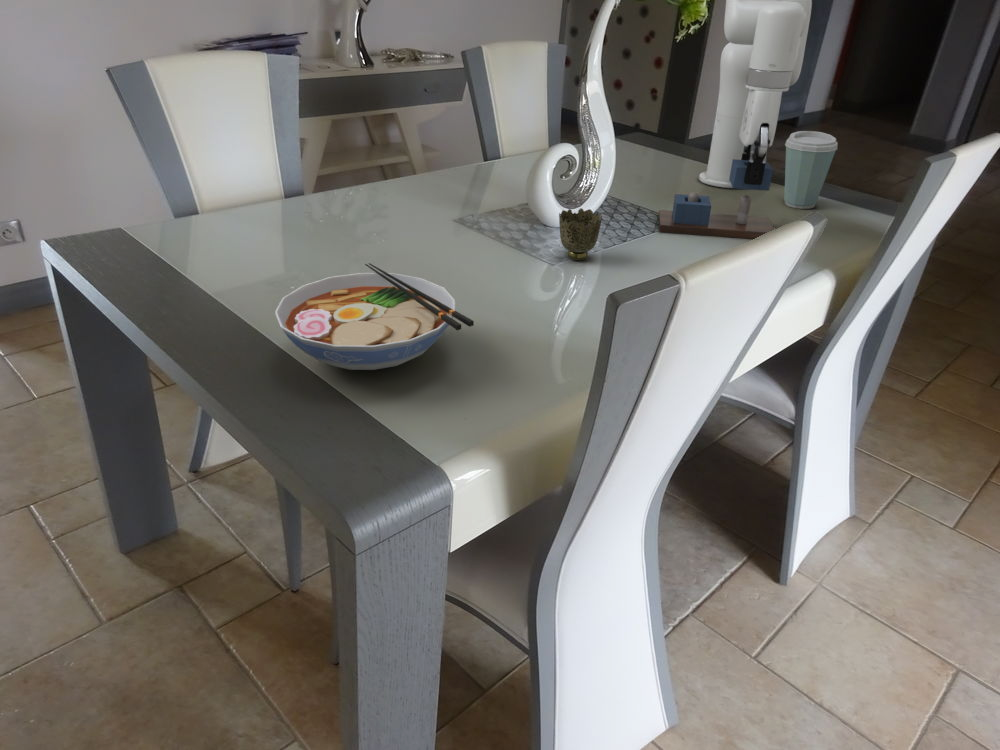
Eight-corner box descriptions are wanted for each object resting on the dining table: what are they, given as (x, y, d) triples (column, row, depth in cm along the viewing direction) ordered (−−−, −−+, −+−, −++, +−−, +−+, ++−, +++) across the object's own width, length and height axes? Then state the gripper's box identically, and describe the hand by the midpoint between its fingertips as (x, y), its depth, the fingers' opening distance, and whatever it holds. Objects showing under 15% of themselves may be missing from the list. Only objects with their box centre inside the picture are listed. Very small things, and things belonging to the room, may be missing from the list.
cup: (561, 266, 129) (564, 221, 125) (552, 251, 135) (554, 208, 131) (603, 265, 130) (607, 220, 126) (592, 250, 136) (595, 207, 132)
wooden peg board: (658, 216, 155) (662, 183, 151) (767, 224, 152) (774, 190, 148) (659, 232, 146) (664, 197, 142) (775, 240, 143) (783, 205, 140)
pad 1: (672, 213, 152) (675, 193, 150) (705, 215, 151) (708, 196, 149) (673, 223, 146) (676, 203, 144) (708, 225, 145) (711, 205, 143)
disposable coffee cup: (828, 213, 159) (846, 142, 152) (776, 210, 161) (791, 139, 153) (818, 200, 168) (834, 131, 161) (769, 196, 170) (783, 128, 162)
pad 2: (729, 179, 147) (732, 159, 145) (763, 181, 146) (767, 161, 144) (733, 188, 141) (736, 167, 139) (768, 190, 140) (773, 169, 138)
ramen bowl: (253, 341, 101) (244, 285, 97) (401, 304, 113) (399, 253, 109) (329, 426, 84) (322, 362, 80) (495, 372, 96) (496, 314, 92)
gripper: (741, 73, 142) (724, 167, 151) (753, 85, 127) (735, 189, 136) (781, 75, 141) (762, 169, 150) (799, 88, 126) (777, 192, 135)
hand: (749, 178), depth 143 cm, fingers closed on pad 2, 6 cm apart
